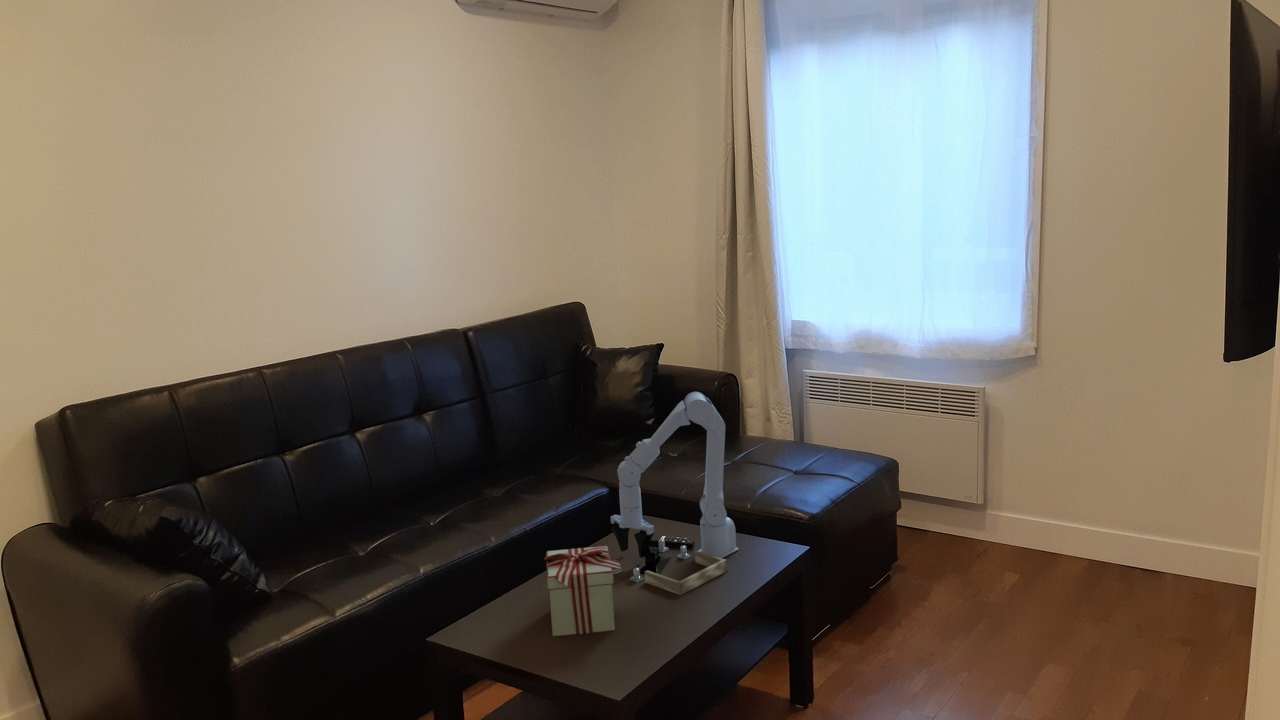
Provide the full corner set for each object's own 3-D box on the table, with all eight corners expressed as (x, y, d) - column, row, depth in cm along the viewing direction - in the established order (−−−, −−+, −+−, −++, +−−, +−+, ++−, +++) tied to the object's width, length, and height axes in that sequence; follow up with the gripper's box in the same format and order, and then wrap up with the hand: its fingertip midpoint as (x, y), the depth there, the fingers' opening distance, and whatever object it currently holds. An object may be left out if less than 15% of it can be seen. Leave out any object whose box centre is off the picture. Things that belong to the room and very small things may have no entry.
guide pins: (662, 547, 261) (661, 537, 261) (690, 556, 254) (689, 546, 254) (608, 572, 247) (607, 561, 247) (636, 582, 240) (636, 571, 240)
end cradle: (692, 559, 252) (691, 549, 252) (727, 570, 244) (726, 559, 243) (645, 582, 240) (644, 571, 239) (680, 595, 231) (679, 583, 231)
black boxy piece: (659, 577, 244) (658, 560, 243) (632, 575, 246) (631, 558, 245) (672, 557, 255) (671, 541, 254) (646, 555, 257) (645, 539, 256)
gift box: (553, 646, 210) (547, 573, 207) (545, 610, 228) (539, 542, 224) (629, 635, 213) (624, 563, 210) (615, 600, 231) (610, 533, 227)
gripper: (601, 504, 254) (604, 551, 257) (639, 515, 244) (642, 564, 247) (620, 496, 259) (623, 543, 262) (658, 507, 249) (661, 556, 252)
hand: (633, 553), depth 255 cm, fingers open, 7 cm apart
